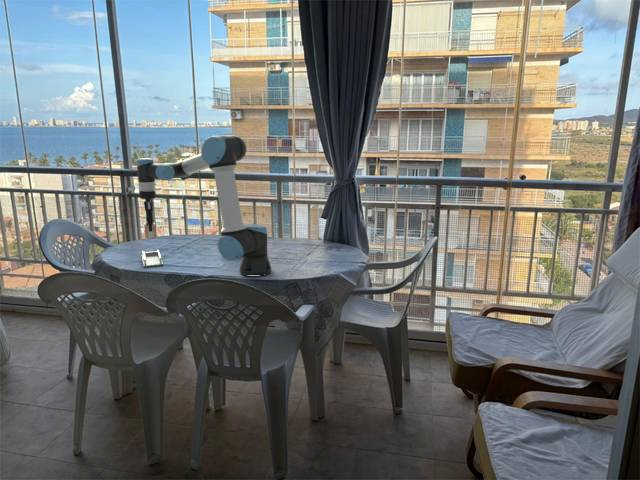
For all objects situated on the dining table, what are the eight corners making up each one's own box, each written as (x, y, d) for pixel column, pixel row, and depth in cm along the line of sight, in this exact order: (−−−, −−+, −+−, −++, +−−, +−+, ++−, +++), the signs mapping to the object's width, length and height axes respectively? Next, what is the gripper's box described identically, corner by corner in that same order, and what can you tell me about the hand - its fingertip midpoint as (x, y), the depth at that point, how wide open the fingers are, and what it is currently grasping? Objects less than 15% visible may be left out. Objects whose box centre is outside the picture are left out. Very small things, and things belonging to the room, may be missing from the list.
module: (156, 237, 221) (155, 222, 219) (145, 238, 219) (144, 223, 217) (155, 235, 225) (154, 221, 223) (145, 236, 223) (144, 221, 221)
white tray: (163, 265, 218) (162, 259, 217) (143, 267, 215) (143, 260, 214) (159, 254, 236) (159, 248, 235) (141, 256, 232) (141, 250, 231)
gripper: (156, 192, 210) (160, 239, 216) (154, 187, 225) (157, 231, 231) (139, 193, 207) (143, 240, 213) (138, 187, 222) (141, 232, 228)
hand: (150, 236), depth 222 cm, fingers closed on module, 4 cm apart
